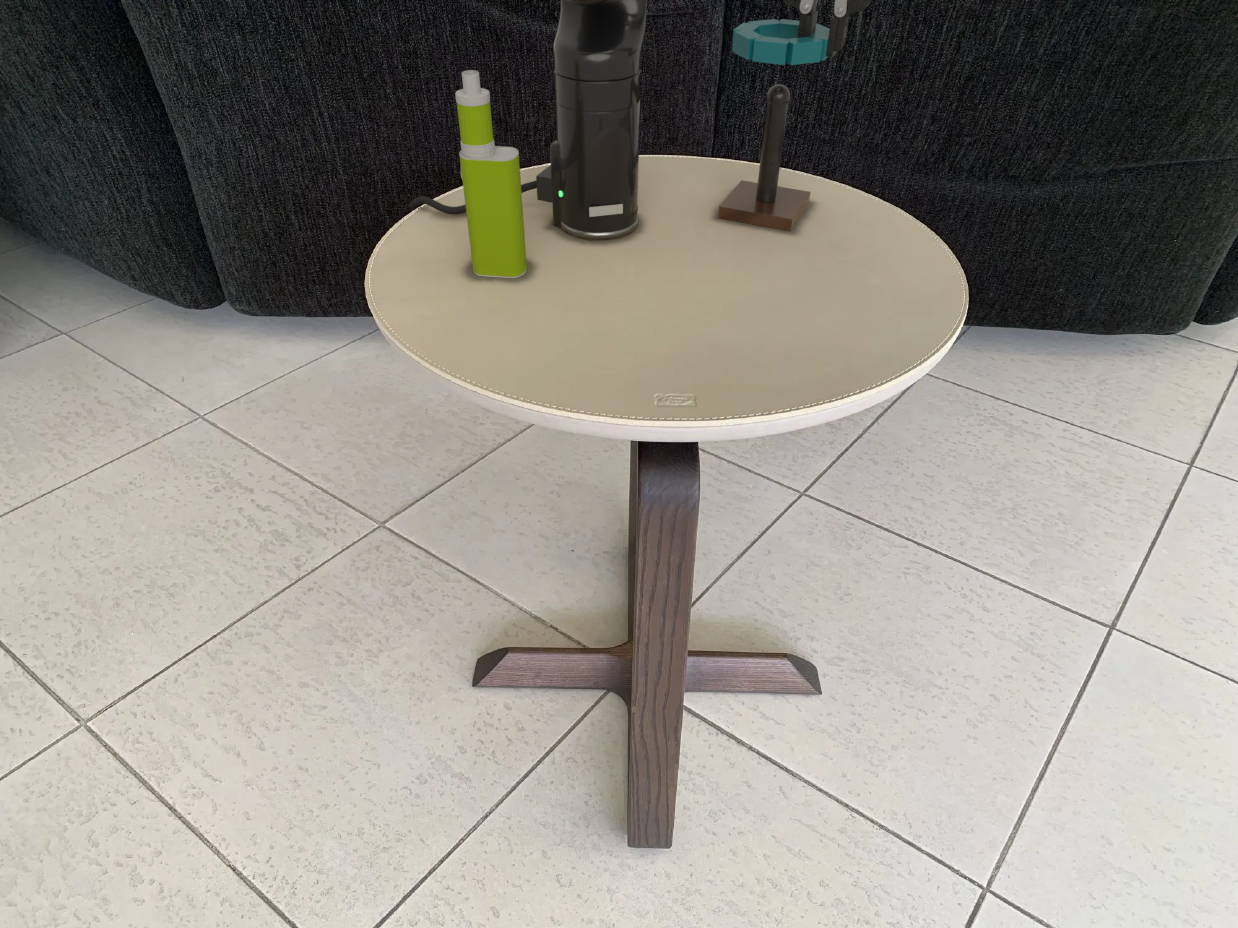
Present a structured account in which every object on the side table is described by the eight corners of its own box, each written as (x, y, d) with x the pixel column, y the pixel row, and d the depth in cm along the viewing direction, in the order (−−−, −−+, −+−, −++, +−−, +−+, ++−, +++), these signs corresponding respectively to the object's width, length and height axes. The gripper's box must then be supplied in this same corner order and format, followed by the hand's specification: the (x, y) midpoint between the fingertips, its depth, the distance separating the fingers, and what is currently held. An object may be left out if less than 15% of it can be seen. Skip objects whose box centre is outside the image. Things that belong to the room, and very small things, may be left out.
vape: (477, 259, 92) (455, 66, 79) (530, 263, 92) (516, 69, 79) (468, 275, 89) (443, 77, 77) (522, 279, 89) (507, 80, 76)
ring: (721, 58, 86) (723, 37, 85) (750, 36, 93) (752, 16, 92) (816, 69, 83) (819, 47, 82) (839, 45, 90) (842, 25, 89)
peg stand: (718, 218, 101) (729, 90, 92) (740, 191, 107) (752, 69, 98) (790, 231, 98) (809, 101, 89) (808, 203, 105) (828, 79, 95)
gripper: (932, -153, 76) (892, 52, 87) (786, -157, 81) (765, 38, 92) (919, -146, 71) (878, 71, 82) (763, -152, 75) (744, 55, 86)
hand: (818, 53), depth 87 cm, fingers closed on ring, 2 cm apart
